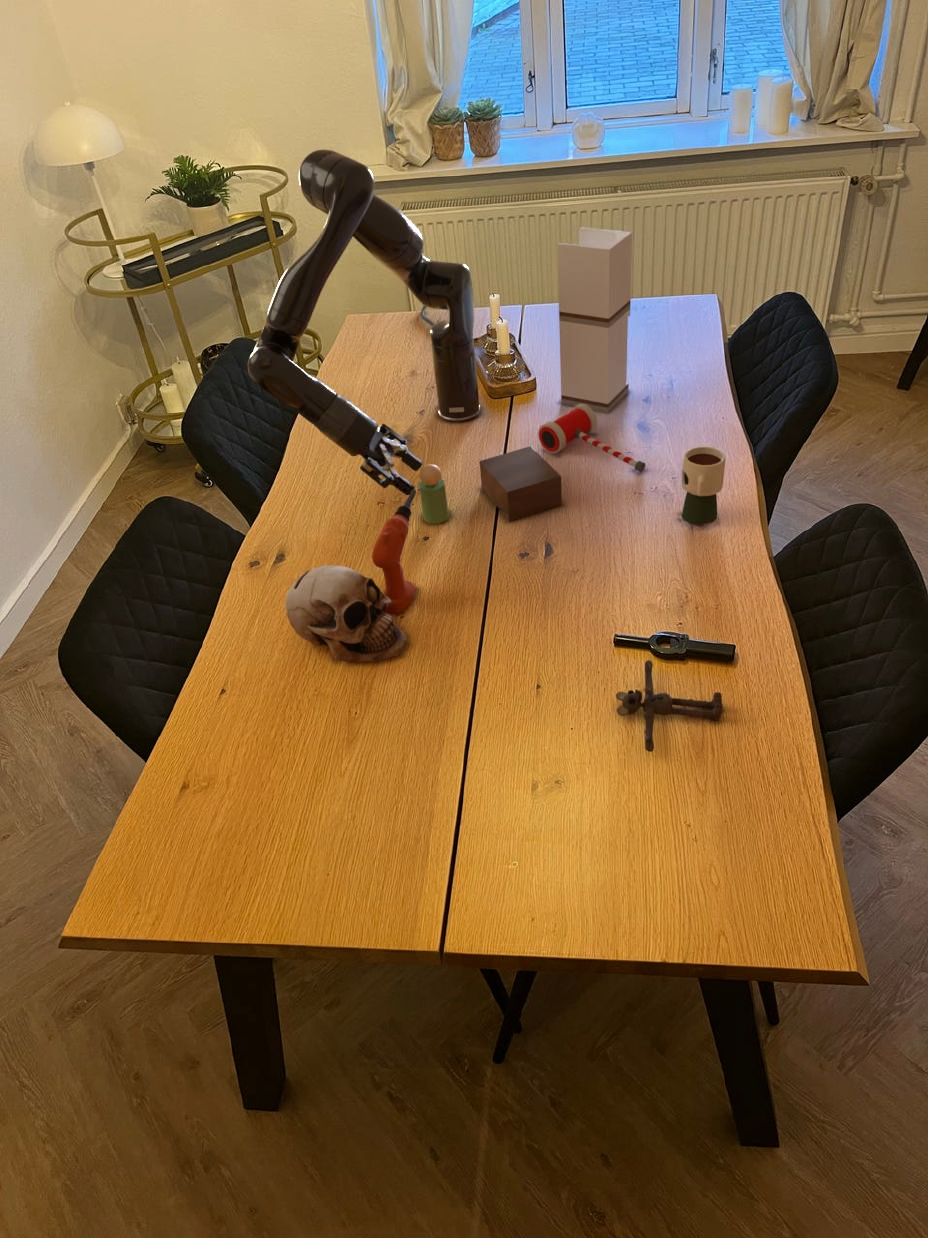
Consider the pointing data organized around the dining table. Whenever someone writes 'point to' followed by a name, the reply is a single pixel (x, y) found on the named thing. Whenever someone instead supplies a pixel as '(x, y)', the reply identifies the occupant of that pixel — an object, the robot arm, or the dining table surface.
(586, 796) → the dining table surface
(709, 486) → the character mug
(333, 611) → the coin bank
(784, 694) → the dining table surface
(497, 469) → the walnut block
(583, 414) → the toy hammer
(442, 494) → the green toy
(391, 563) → the toy drill
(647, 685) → the bear figurine
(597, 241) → the beige tall block
